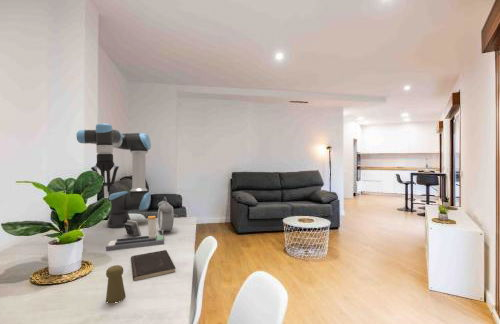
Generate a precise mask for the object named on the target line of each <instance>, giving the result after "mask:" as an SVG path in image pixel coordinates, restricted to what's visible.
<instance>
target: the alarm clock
mask: <svg viewBox="0 0 500 324" xmlns="http://www.w3.org/2000/svg"><path fill="white" fill-rule="evenodd" d="M157 208H158V210H157V229H158V231H159V232H160V231H161V235H164V232H165V231H169V232H170V231H172V230H173V227H174V222H175V221H174V219H175V218H174V216H175V215H174V214H175V213H174V211H175V210H174V207H173V205H171V204H170V203H169V202H168V201H167V198H166V197H165V196H164V197H163V199H162V201H159V202H158V204H157Z"/></svg>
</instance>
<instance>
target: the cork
mask: <svg viewBox="0 0 500 324" xmlns="http://www.w3.org/2000/svg"><path fill="white" fill-rule="evenodd" d="M123 274H124V267H123V266H122V265H119V264H116V265H112V266H109V267H108V268H107V269H106V272H105V276H106V278H107V287H106V296H105V303H106V302H108V303H115V302H118V303H120V302H119V301H121V300H122V301H124V300H125V299H126V291H125V286H124V285H125V284H124V279H123ZM123 299H124V300H123ZM122 301H121V302H122ZM108 303H107V304H108ZM115 304H116V303H115Z"/></svg>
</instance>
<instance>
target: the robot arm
mask: <svg viewBox="0 0 500 324" xmlns="http://www.w3.org/2000/svg"><path fill="white" fill-rule="evenodd" d="M76 141H77V142H78V143H80V144H85V145H86V144H91V145H96V147H95V148H96V149H95V150H96V153H97V154H96V163H95V165H94V166H92V167H90V169H91V170H92V171H96V172H98V170H100V177H101V176H103V177H104V183H103V186H101V192H102V193H103V195H104V197H103V198H107V199H108V201H109V200H110V201H111V202H112V209H111V212H110V211H109V216H108V219H107V223H106V227H107V228H109V229H118V228H125V226H124V224H125V223H126V222H127V220H131V217H130V214H129V211H138V210H139V211H141V210H147V209H148V208H149V206H150V204H151V200H152V198H151V193H150V192H149V190H148V189H147V188H146V155H147V153H148V152H149V150H151V147H152V146H151V145H152V144H151V139H150V136H149V135H148V133H143V132H133V133H132V132H131V133H130V132H129V133H122V132H121V131H120V130H117V129H113V126H112V124H110V123H97V124H96V125H95V129H80V130H78V131H77V132H76ZM114 149H120V150H123V151H125V150H126V151H127V150H128V151H129V153H131V154H132V155H131V158H132V159H131V160H132V165H131V166H132V168H131V169H132V171H131V172H132V174H131V175H132V176H131V177H132V179H131V180H132V181H131V182H132V183H131V185H132V186H131V189H130V190H129V192H128V191H127V190H126V191H125V190H124V191H118V192H117V191H116V192H114V193H111V194H109V193H110V192H111V186H112V185H114V184H115V182H116V177H117V173H118V170H119V168H120V166H118V165H116V164H115V162H114V154H113V153H114ZM148 154H149V153H148ZM112 169H113V173H112V177H111V170H112ZM105 173H106V174H105ZM105 175H106V176H105ZM131 221H132V220H131Z"/></svg>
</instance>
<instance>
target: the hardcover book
mask: <svg viewBox="0 0 500 324" xmlns="http://www.w3.org/2000/svg"><path fill="white" fill-rule="evenodd" d="M130 261H131V262H130V264H131V272H132V277H133V282H134V281H139V280H143V279H148V278H152V277H157V276H161V275H166V274H171V273H175V271H176V265H175V264H174V262H173V260H172V258H171V255H170V254H169V253H168V250H166V249H164V250H158V251H152V252H147V253H142V254H137V255H131V257H130Z"/></svg>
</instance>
